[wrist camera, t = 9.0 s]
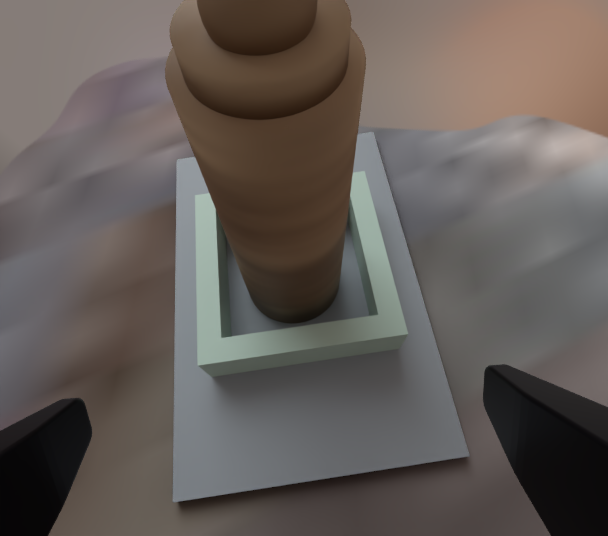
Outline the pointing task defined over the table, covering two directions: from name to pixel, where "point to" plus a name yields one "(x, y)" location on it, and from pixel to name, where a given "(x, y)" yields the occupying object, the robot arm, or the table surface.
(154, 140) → the table surface
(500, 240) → the table surface
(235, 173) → the pepper mill
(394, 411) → the well board
